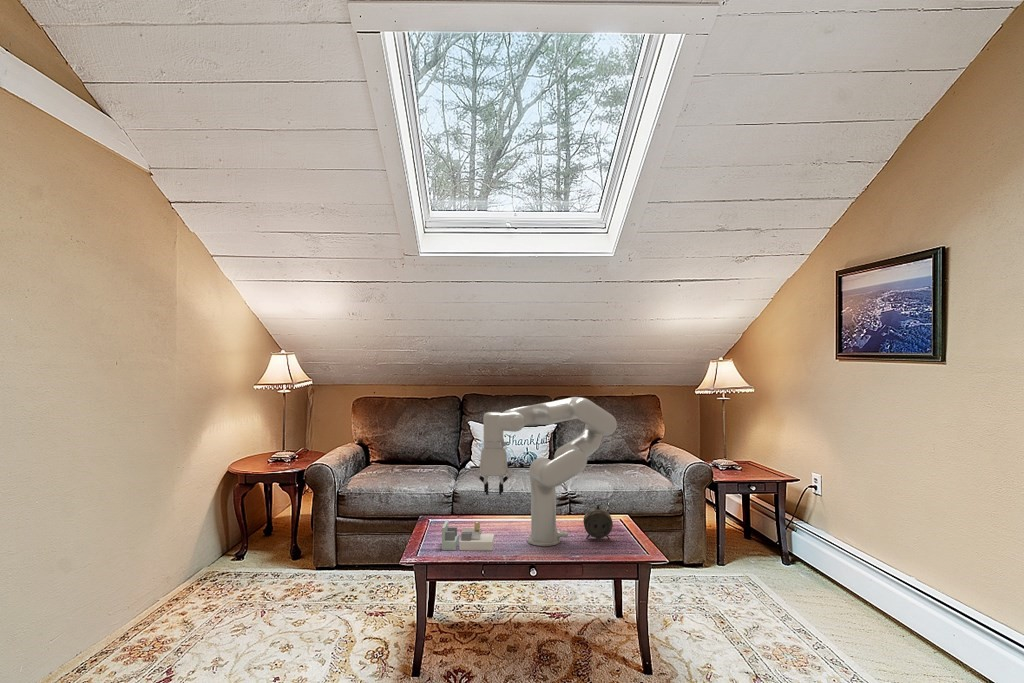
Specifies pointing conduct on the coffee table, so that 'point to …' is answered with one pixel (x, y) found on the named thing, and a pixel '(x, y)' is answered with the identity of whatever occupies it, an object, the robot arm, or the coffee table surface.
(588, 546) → the coffee table surface
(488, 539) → the door board
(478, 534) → the bolt
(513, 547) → the coffee table surface
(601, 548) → the coffee table surface
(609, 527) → the alarm clock
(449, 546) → the door jamb
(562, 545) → the coffee table surface
